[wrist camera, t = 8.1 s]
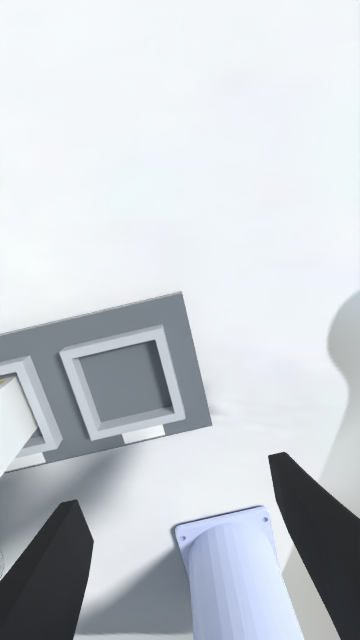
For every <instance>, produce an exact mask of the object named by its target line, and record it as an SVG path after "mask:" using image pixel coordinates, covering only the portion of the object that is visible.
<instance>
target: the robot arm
mask: <svg viewBox="0 0 360 640" xmlns="http://www.w3.org/2000/svg"><path fill="white" fill-rule="evenodd" d="M268 458H269V464H270V470H271V475H272V481H273V487H274V492H275V498H276V502H277V504H278V507H279V509H280V512H281V514H282V517H283V520H284V522H285V525H286V527H287V530H288V532H289V534H290V536H291V538H292V540H293V542H294V544H295V546H296V548H297V550H298V553H299V554H300V557H301V558H302V561H303V563H304V565H305V567H306V569H307V571H308V573H309V575H310V577H311V579H312V581H313V583H314V585H315V587H316V589H317V591H318V593H319V595H320V597H321V599H322V601H323V603H324V604H325V607H326V609H327V611H328V613H329V615H330V617H331V619H332V621H333V624H334V626H335V628H336V630H337V632H338V634H339V636H340V639H341V640H360V519H359V518H358V517H357V516H356V515H354V514H353V513H352V512H351V511H349V510H348V509H347V508H346V507H344V506H343V505H342V504H341V503H340V502H339V501H338V500H336V499H335V498H334V497H333V496H332V495H330V494H329V493H328V492H327V491H326V490H325V489H324V488H323V487H321V486H320V485H319V484H318V483H317V482H316V481H315V480H314V479H313V478H312V477H311V476H310V475H308V474H307V473H306V472H305V471H304V470H303V469H302V468H301V467H300V466H299V465H298V464H297V463H296V462H295V461H294V460H293V459H292V458H291V457H290V456H289V455H288V454H287V453H285V452H282V453H277V454H273V455H268ZM175 535H176V539H177V542H178V545H179V549H180V552H181V555H182V558H183V562H184V565H185V568H186V572H187V575H188V578H189V582H190V592H191V606H192V621H193V635H194V640H305V639H304V637H303V634H302V631H301V628H300V626H299V623H298V620H297V617H296V614H295V611H294V609H293V606H292V603H291V600H290V597H289V595H288V592H287V589H286V586H285V584H284V581H283V578H282V575H281V572H280V566H279V561H278V555H277V550H276V545H275V539H274V534H273V528H272V523H271V518H270V513H269V510H268V508H267V507H264V506H262V507H257V508H253V509H248V510H244V511H240V512H235V513H231V514H226V515H222V516H218V517H213V518H209V519H204V520H200V521H196V522H191V523H187V524H182V525H179V526H177V527H176V528H175ZM93 543H94V540H93V538H92V535H91V533H90V530H89V528H88V525H87V523H86V521H85V518H84V516H83V513H82V511H81V508H80V506H79V503H78V501H77V499H76V500H72V501H68V502H63V503H61V504H60V505H59V506H58V507H57V509H56V510H55V511H54V512H53V514H52V515H51V516H50V518H49V519H48V520H47V522H46V523H45V524H44V526H43V527H42V528H41V530H40V531H39V532H38V534H37V535H36V536H35V537H34V539H33V540H32V541H31V543H30V544H29V545H28V547H27V548H26V549H25V551H24V552H23V553H22V554H21V556H20V557H19V558H18V560H17V561H16V562H15V564H14V565H13V566H12V567H11V569H10V570H9V571H8V573H7V574H6V575H5V576H4V577H3V579H2V580H1V581H0V640H73V637H74V633H75V629H76V625H77V622H78V618H79V614H80V610H81V606H82V602H83V598H84V593H85V589H86V585H87V581H88V577H89V570H90V564H91V558H92V550H93Z"/></svg>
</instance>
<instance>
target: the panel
mask: <svg viewBox="0 0 360 640" xmlns="http://www.w3.org/2000/svg"><path fill="white" fill-rule="evenodd" d="M14 376H18V378H19V380H20V383H21V385H22V388H23V390H24V392H25V395H26V397H27V400H28V402H29V404H30V407H31V409H32V412H33V414H34V416H35V419H36V421H37V424H38V428H37V429H36V430H35V432H34V433H33V434H32V436H31V437H30V438H29V440H28V441H27V442H26V444H25V445H24V446H23V448H22V449H21V450H20V452H19V453H18V454H17V456H16V457H15V458H14V460H13V461H12V462H11V464H10V465H9V466H8V468H7V469H6V470H5V472H4V473H9V472H13V471H17V470H22V469H26V468H30V467H35V466H39V465H43V464H48V463H52V462H56V461H61V460H65V459H69V458H74V457H78V456H82V455H87V454H91V453H95V452H100V451H104V450H108V449H113V448H117V447H121V446H126V445H130V444H134V443H139V442H143V441H147V440H152V439H156V438H160V437H165V436H169V435H173V434H178V433H182V432H186V431H191V430H195V429H199V428H204V427H208V426H212V422H211V417H210V413H209V409H208V404H207V400H206V396H205V391H204V387H203V382H202V378H201V374H200V369H199V365H198V361H197V356H196V352H195V348H194V343H193V339H192V334H191V330H190V326H189V321H188V317H187V313H186V308H185V304H184V299H183V295H182V292H177V293H172V294H168V295H164V296H160V297H155V298H151V299H147V300H143V301H138V302H134V303H130V304H126V305H121V306H117V307H113V308H109V309H104V310H100V311H96V312H92V313H87V314H83V315H79V316H75V317H71V318H66V319H62V320H58V321H54V322H49V323H45V324H41V325H37V326H32V327H28V328H24V329H20V330H15V331H11V332H7V333H3V334H0V380H1V379H5V378H10V377H14ZM4 473H3V474H4Z"/></svg>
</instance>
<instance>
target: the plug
mask: <svg viewBox="0 0 360 640" xmlns="http://www.w3.org/2000/svg"><path fill="white" fill-rule="evenodd" d="M37 428H38V424H37V421H36V419H35V416H34V414H33V412H32V409H31V407H30V404H29V402H28V400H27V397H26V395H25V392H24V390H23V388H22V385H21V383H20V380H19V378H18V376H14V377H10V378H5V379H1V380H0V477H1V476H2V474H3V473H4V472H5V470H6V469H7V468H8V466H9V465H10V464H11V462H12V461H13V460H14V458H15V457H16V456H17V454H18V453H19V452H20V450H21V449H22V448H23V446H24V445H25V444H26V442H27V441H28V440H29V438H30V437H31V436H32V434H33V433H34V432H35V430H36V429H37Z"/></svg>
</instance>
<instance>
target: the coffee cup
mask: <svg viewBox="0 0 360 640" xmlns="http://www.w3.org/2000/svg"><path fill="white" fill-rule="evenodd" d="M3 570H4V559H3V556H2V553H1V552H0V578H1V575H2V573H3Z"/></svg>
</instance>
